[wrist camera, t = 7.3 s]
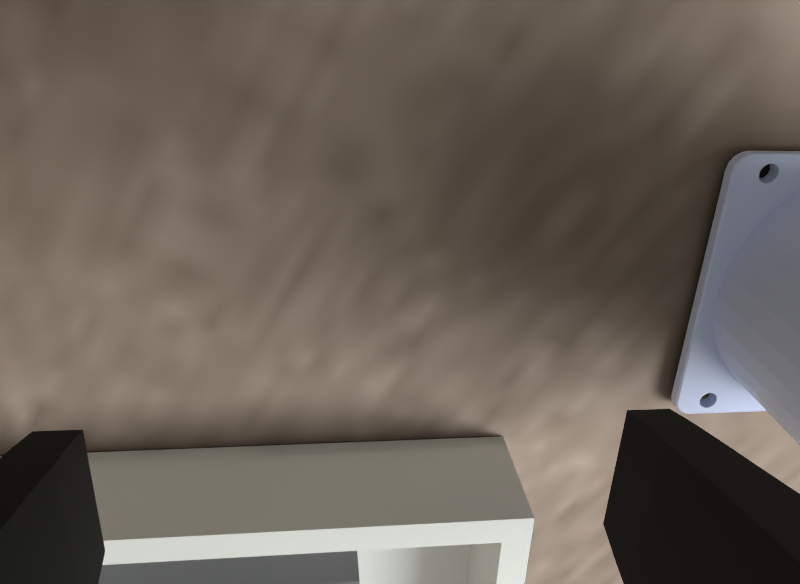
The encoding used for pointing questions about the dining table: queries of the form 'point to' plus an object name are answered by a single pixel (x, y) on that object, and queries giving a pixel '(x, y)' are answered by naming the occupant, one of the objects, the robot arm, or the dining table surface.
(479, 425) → the dining table surface
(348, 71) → the dining table surface
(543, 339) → the dining table surface
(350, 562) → the inlet socket
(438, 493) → the walled box
